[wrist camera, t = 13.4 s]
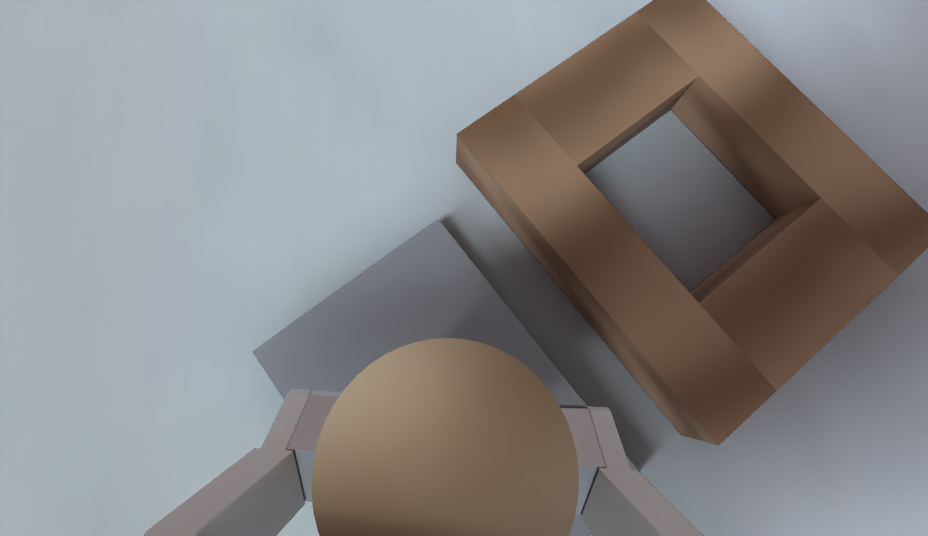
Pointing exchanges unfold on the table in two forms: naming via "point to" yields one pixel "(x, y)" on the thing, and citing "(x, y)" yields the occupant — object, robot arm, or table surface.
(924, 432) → the table surface
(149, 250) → the table surface
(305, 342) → the slate mat
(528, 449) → the tan domed cylinder
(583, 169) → the well board
